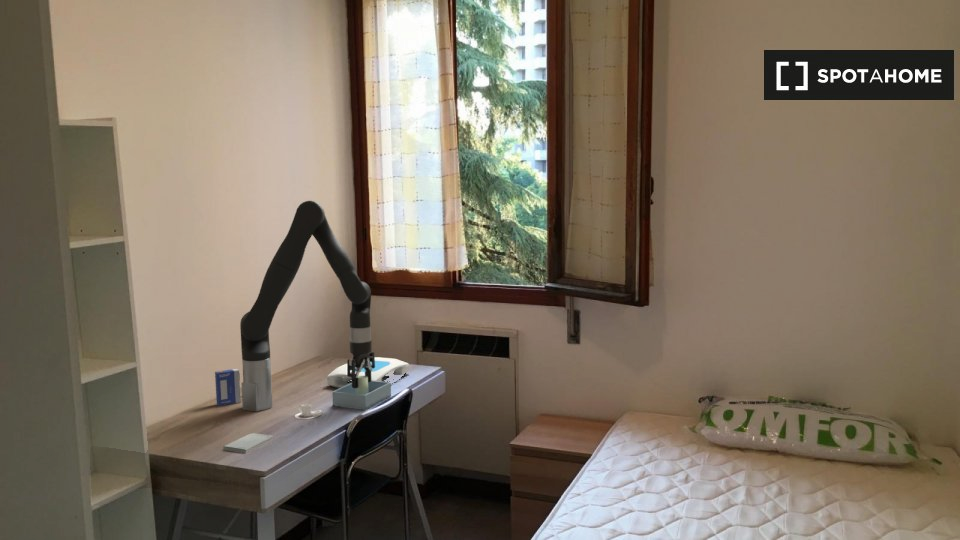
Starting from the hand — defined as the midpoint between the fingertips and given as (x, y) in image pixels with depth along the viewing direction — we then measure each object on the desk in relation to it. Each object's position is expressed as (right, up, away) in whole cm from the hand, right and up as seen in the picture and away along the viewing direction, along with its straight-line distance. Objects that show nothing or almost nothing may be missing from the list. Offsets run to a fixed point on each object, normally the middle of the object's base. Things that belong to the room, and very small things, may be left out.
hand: (361, 384), depth 258 cm
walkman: (-47, -7, 0) cm, 47 cm away
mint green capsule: (0, -5, +1) cm, 5 cm away
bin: (0, -6, +1) cm, 6 cm away
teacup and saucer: (-15, -9, -17) cm, 24 cm away
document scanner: (-1, -3, +27) cm, 27 cm away
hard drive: (-27, -12, -41) cm, 50 cm away
